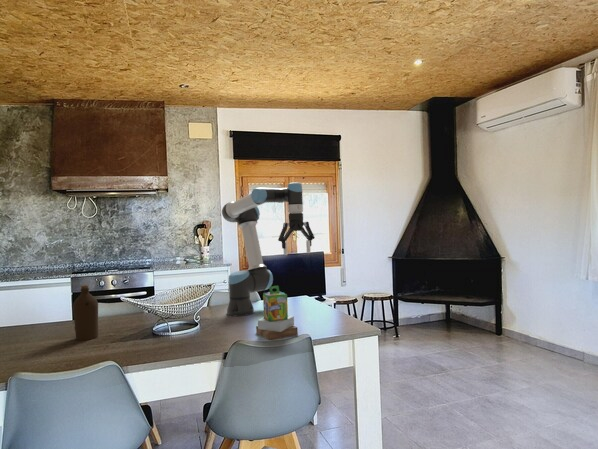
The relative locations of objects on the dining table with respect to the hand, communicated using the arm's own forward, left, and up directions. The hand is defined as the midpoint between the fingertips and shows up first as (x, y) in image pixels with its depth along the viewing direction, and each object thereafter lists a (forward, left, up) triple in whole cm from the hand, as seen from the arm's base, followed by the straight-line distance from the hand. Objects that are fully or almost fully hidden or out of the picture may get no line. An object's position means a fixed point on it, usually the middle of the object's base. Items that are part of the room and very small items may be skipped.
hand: (297, 253), depth 207 cm
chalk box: (+15, -22, -27) cm, 38 cm away
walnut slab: (+15, -21, -35) cm, 44 cm away
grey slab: (+15, -22, -31) cm, 41 cm away
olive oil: (-37, -96, -34) cm, 108 cm away
